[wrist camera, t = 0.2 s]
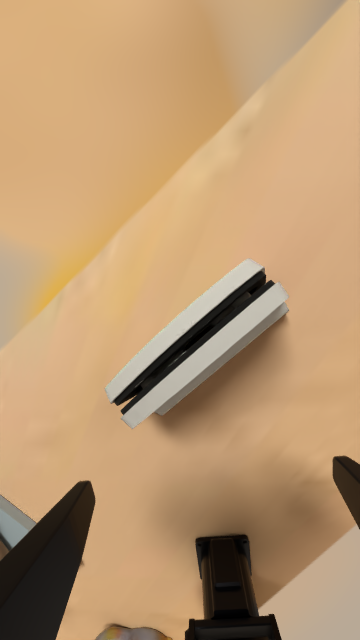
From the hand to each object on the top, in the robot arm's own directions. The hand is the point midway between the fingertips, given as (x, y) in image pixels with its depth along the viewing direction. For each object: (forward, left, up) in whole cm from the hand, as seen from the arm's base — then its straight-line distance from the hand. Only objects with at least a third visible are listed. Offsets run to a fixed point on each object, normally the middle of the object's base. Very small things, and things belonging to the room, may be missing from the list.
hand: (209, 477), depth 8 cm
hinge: (+1, 0, -15) cm, 15 cm away
